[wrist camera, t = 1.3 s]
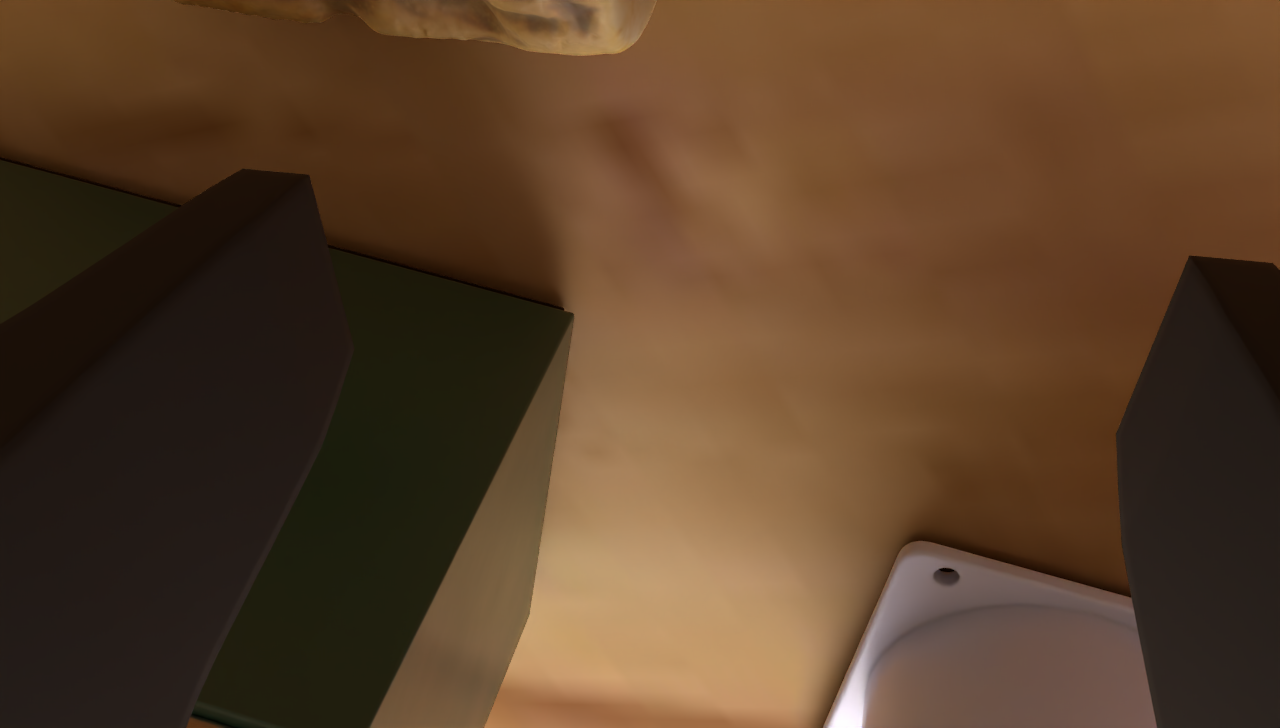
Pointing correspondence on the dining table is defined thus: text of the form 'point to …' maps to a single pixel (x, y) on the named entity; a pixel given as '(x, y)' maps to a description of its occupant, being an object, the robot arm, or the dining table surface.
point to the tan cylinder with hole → (476, 20)
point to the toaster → (366, 483)
